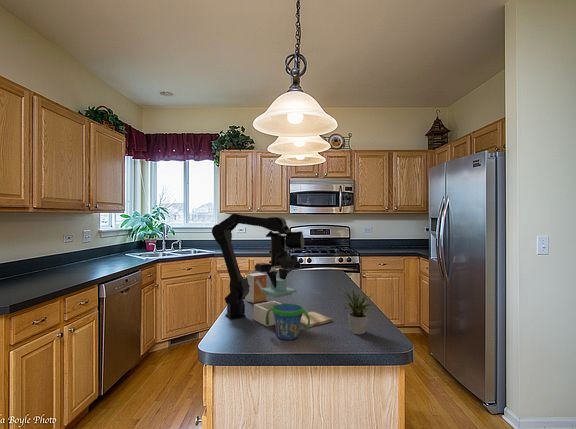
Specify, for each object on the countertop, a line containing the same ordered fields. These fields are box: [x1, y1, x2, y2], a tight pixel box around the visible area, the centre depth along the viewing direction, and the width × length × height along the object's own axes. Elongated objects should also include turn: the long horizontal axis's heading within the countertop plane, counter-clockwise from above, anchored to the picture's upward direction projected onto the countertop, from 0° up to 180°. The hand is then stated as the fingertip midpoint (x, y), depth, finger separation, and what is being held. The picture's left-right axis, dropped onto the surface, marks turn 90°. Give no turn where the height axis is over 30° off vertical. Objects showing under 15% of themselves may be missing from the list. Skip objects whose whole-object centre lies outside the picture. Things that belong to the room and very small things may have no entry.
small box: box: [245, 272, 268, 304], centre depth 163 cm, size 8×6×13 cm
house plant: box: [340, 287, 376, 335], centre depth 120 cm, size 14×14×16 cm
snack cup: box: [265, 303, 310, 341], centre depth 115 cm, size 16×11×10 cm
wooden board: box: [300, 311, 333, 328], centre depth 133 cm, size 13×12×1 cm
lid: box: [261, 277, 298, 298], centre depth 132 cm, size 10×10×6 cm
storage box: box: [253, 300, 282, 327], centre depth 132 cm, size 10×10×6 cm
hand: (278, 287), depth 132 cm, fingers closed on lid, 3 cm apart
